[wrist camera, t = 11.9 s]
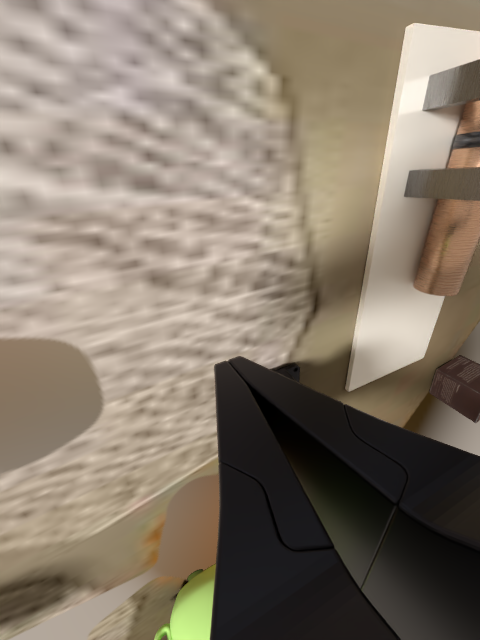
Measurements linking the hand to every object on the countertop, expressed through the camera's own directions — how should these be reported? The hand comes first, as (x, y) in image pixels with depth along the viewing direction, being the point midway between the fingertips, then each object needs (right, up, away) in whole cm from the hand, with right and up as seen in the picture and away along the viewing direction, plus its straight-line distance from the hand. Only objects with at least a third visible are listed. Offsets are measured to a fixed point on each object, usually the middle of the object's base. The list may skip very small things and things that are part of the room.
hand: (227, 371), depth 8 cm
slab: (+19, +9, +20) cm, 29 cm away
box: (+35, -8, +37) cm, 52 cm away
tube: (+19, +13, +16) cm, 29 cm away
